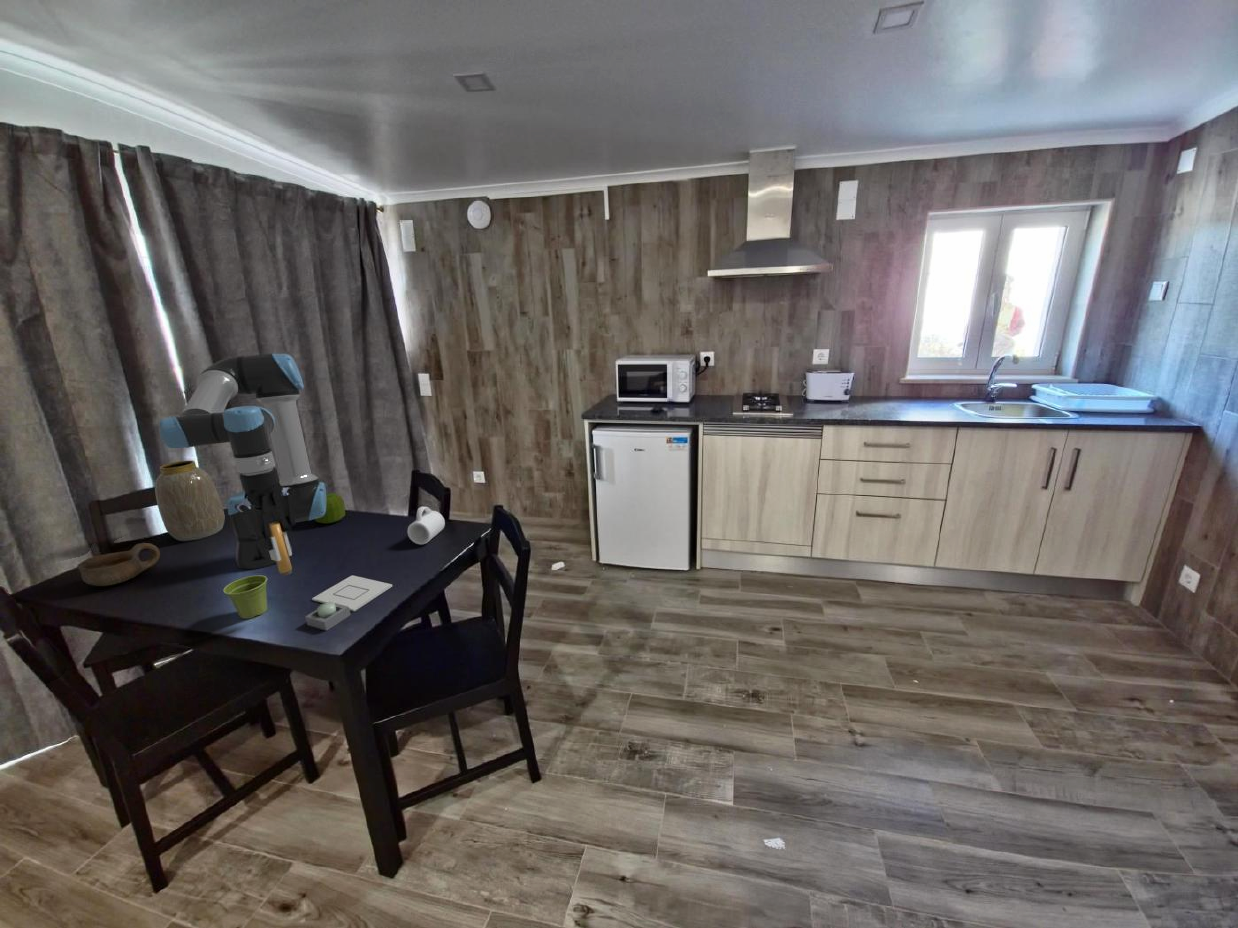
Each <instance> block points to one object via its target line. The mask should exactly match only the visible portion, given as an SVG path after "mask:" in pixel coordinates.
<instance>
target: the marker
mask: <svg viewBox="0 0 1238 928" xmlns="http://www.w3.org/2000/svg"><path fill="white" fill-rule="evenodd" d="M269 526H270V532H271V537H275V539H276V543H277V546H278V550H279V554H280V557H281V560H280V561H276V562H277V563H276V565H277V568H278V573H279V574H280V575H281V576H282V577H285V576H290V575H291V574H292V573H293V572H292V570H293V567H292V563H291V559H290V556H288V552H287V549H286V545H285V542H284V538H283V534H282V531H281V527H280V523H279V522H275V523H271V524H269Z"/></svg>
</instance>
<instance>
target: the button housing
mask: <svg viewBox="0 0 1238 928" xmlns="http://www.w3.org/2000/svg"><path fill="white" fill-rule="evenodd" d="M335 607H336V611H337V612H336V613H334V614H333V615H331V616H329V617H328V618H326V619H323V618H320V617H319V615H318V611H317V609H316V610H313V611H312V612H311V613H310V612H309V614H307V615H305V622H306V625H307V626H309V627H313V628H316V629H320V630H324V631H329V630H330V629H332V628H333V627H335V626H336V625H337V624H339V623H341V622H343V621H344V620H345V619H346V618H349V617H350V616H351V615H352V614H351V610H349V607H348V606H344V605H340V604H337V603H335Z"/></svg>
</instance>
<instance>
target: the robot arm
mask: <svg viewBox="0 0 1238 928" xmlns="http://www.w3.org/2000/svg"><path fill="white" fill-rule="evenodd" d="M195 383H196V385H195V386H196V389H195V391H194V392H193V394H192V395H191V397H190V399H188V402H187V404H186V406H184V408H183V410H182V412H181V414H180V415H179V416H171V417H165V418H162V419H161V420H160V421H159V424H158V431H159V435H160V438H161V440H162V443H163V444H164V445H165V446H166V447H167V448H169V449H184V448H186V449H189V448H194V447H201V446H208V445H216V444H224V443H225V444H226V443H229V444H230V447H231V451H232V453H233V454H232V455H233V458H234V462H235V466H236V469H237V471H238V473H239V474H240V475H239V479H240V483H241V486H242V489H243V490H241V491H239V492H237V493H235V494H233V495H232V496H230V497H228V499H227V501H226V508H227V511H228V512H227V516H229V519H230V522H231V526H232V529H233V532H234V534H235V538H236V541H237V544H236V552H235V553H236V554H235V562H236V565H237V567H238V569H243V570H255V569H262V568H265V567H268V566H273V565H275V564H277V562H276V561H280V560H281V557H280V554H279V550H278V546H277V543H276V539H275V537H271V532H270V526H269V524H271V523H275V522H279V523H280V527H281V531H282V534H283V538H284V542H285V545H286V549H287V552H288V556H289V557H291V556H292V555H293V547H292V545H291V543H290V542H291V541H292V537H291V533H290V532H291V531H292V527H293V526H296V525H297V524H296V523H298V522H299V523H301V522H305V521H310V522H311V521H312V520H315V519H316V518H320V517H323V516H324V515H325V512H326V494H327V489H326V484H325V483H324V482H321V481H320V482H319V478H318V476H317V475H315V474H313V473H312V471H311V466H310V461H309V456H308V452H307V447H306V442H305V439H304V434H303V433H304V432H303V429H302V425H301V419H300V416H299V410H298V406H297V400H298V399H299V398H300V396H301V395H300V391H302V390H304V387H305V385H304V383H303V378H302V376H301V373H300V369H299V368H298V366H297V363H296V361H295V360H294V358H293V357H292V356H291V355H290V354H288V353H266V354H257V355H256V354H255V355H243V356H241V355H240V356H239V355H237V356H230V357H227V358H223V359H221V360H219V361H216V362H215V363H214V362H213V364H210V365H209V366H208V367H206V368H205V369H204V370H203V371H202V372H201V373H200V374H199V375H198V377H197V379H196V382H195ZM243 395H255V398H256V401H258V402H259V403H261V404H262V405H263V406H264V407H262V406H256V405H241V406H237V407H231V408H228V409H227V406H228V403H229V401H230V400H232V399H233V398H234V397H236V396H243ZM269 435H270V439H271V442H272V447H273V450H274V455H273V451H272V448H271V443H270V439H269ZM274 456H275V458H274ZM275 460H276V462H275ZM276 465H277V468H276ZM278 472H279V473H278Z"/></svg>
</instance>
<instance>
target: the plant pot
mask: <svg viewBox="0 0 1238 928" xmlns="http://www.w3.org/2000/svg"><path fill="white" fill-rule="evenodd" d="M267 582H268V577H267V576H265V575H262V574H259V575H250V576H245V577H242V578H240V579H237V580H234V581H232V582H230V583H229V584H227V585H226V586H224V588H223V590H222V592H223V593H224V594H225V595H227V597H228V598H229V599H230V601H231V603H232V605H233V607H234V609H235V610H236V612H237V614H238V616H239V617H240V618H241V619H243V620H248V619H253V618H254V617H256V616H260V615H261V616H262V615H263V614H264V613H266V611H268V599H267Z"/></svg>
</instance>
